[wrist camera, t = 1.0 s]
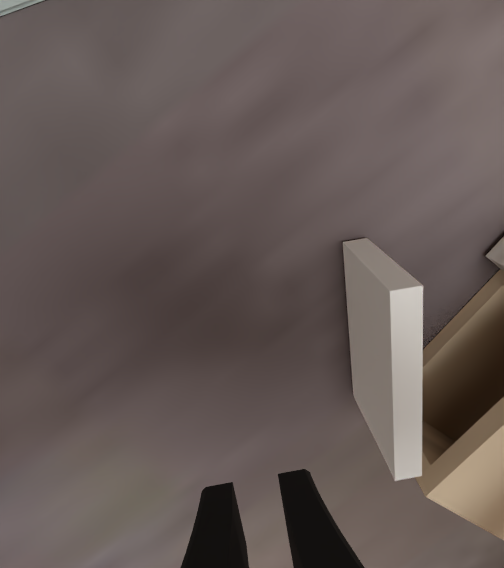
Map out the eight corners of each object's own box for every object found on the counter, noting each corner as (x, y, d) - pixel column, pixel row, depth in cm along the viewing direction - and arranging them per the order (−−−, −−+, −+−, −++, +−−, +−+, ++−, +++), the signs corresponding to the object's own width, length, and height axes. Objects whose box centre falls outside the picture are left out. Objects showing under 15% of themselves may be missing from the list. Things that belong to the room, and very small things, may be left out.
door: (367, 238, 17) (423, 285, 13) (374, 392, 20) (421, 475, 16) (342, 241, 17) (389, 291, 13) (353, 395, 20) (394, 480, 16)
